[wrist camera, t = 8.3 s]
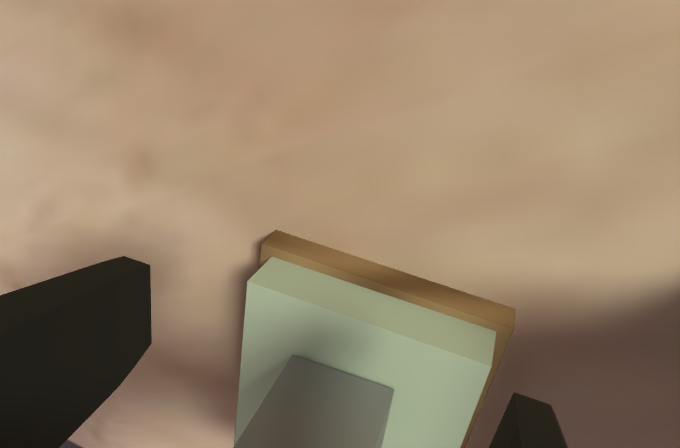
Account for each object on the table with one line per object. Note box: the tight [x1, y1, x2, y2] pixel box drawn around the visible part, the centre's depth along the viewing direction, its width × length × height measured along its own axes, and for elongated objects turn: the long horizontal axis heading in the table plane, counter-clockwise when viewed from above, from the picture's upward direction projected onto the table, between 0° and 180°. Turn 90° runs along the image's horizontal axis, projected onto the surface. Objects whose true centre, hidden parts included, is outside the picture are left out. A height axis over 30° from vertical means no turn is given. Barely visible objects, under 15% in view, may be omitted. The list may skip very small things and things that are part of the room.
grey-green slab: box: [234, 257, 496, 448], centre depth 21 cm, size 9×9×2 cm
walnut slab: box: [259, 230, 515, 448], centre depth 23 cm, size 10×10×2 cm
